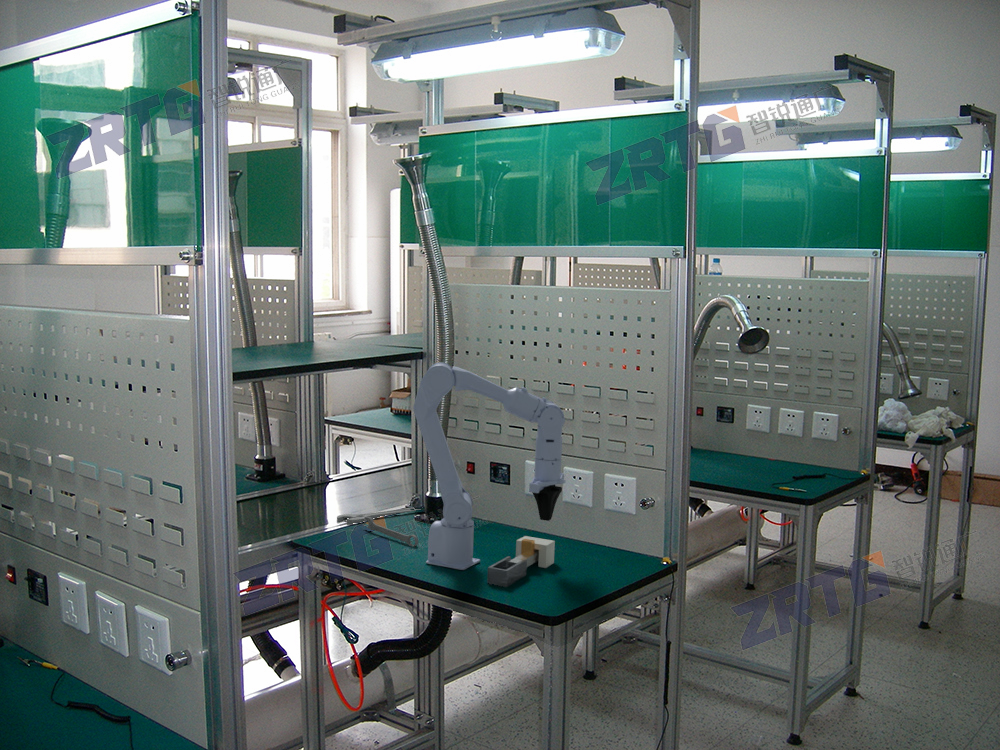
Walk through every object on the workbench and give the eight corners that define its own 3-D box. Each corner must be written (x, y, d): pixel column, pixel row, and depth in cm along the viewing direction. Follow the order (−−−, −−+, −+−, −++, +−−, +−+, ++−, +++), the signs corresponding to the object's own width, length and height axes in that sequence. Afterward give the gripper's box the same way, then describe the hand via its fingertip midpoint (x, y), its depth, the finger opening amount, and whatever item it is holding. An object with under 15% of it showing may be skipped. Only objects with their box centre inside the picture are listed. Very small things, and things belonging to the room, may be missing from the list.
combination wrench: (419, 533, 213) (366, 514, 227) (414, 534, 212) (362, 515, 226) (418, 549, 213) (366, 529, 227) (414, 550, 212) (362, 530, 226)
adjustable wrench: (419, 512, 248) (419, 505, 248) (431, 517, 243) (431, 510, 243) (334, 521, 234) (334, 514, 234) (344, 527, 229) (345, 520, 229)
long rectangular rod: (507, 570, 194) (508, 547, 193) (531, 557, 205) (532, 534, 204) (518, 572, 193) (519, 548, 192) (541, 558, 203) (542, 536, 203)
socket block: (515, 562, 203) (516, 540, 203) (524, 557, 207) (525, 535, 207) (545, 567, 200) (546, 545, 199) (553, 562, 204) (554, 540, 203)
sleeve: (487, 583, 188) (487, 567, 187) (507, 571, 196) (508, 556, 196) (506, 587, 186) (507, 571, 185) (526, 575, 194) (526, 559, 194)
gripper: (552, 465, 191) (549, 529, 192) (577, 455, 204) (574, 515, 205) (521, 461, 194) (518, 524, 195) (548, 452, 207) (546, 511, 208)
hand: (545, 519), depth 200 cm, fingers closed
